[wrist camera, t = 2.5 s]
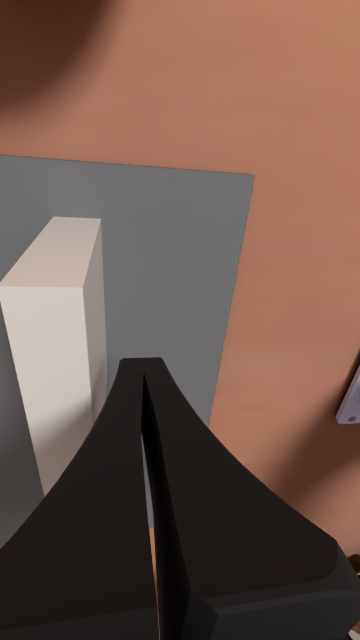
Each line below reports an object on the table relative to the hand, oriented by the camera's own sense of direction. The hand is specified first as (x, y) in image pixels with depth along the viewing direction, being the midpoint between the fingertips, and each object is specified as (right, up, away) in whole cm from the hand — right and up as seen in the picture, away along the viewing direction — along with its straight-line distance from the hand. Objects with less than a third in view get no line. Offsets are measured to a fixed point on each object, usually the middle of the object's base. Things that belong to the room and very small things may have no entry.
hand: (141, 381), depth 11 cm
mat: (-4, -3, +8) cm, 9 cm away
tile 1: (-3, +3, +4) cm, 6 cm away
